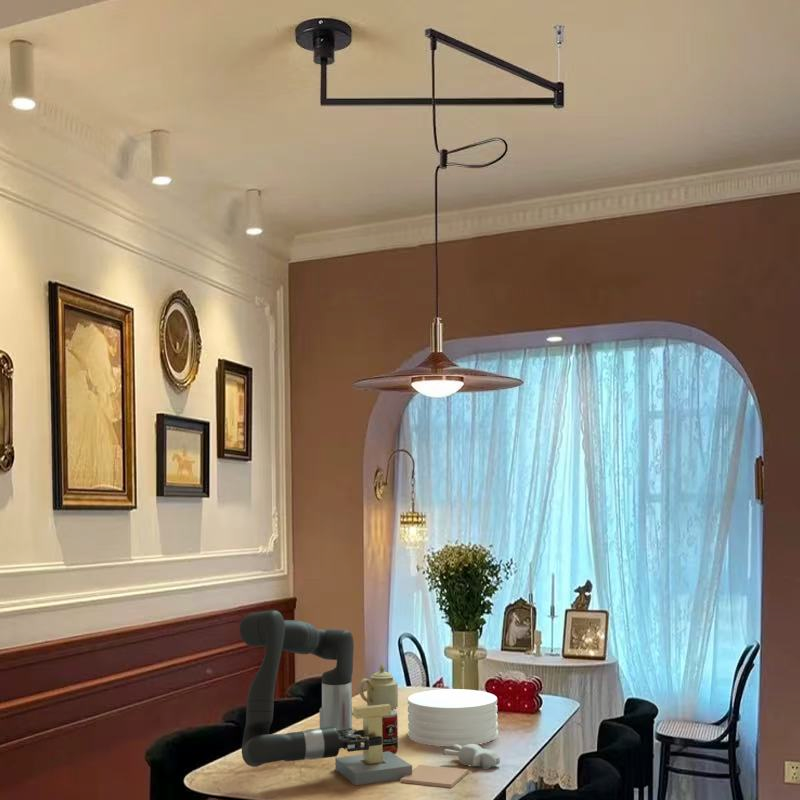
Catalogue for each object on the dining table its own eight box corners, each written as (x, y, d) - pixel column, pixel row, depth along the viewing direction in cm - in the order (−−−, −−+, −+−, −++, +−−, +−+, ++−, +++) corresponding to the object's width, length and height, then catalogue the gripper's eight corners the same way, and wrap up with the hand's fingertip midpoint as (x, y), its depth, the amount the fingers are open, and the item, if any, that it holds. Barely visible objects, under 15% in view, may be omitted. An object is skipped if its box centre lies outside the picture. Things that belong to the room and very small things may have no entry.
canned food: (379, 755, 266) (378, 716, 267) (367, 749, 273) (366, 711, 274) (402, 752, 270) (402, 713, 271) (390, 746, 277) (389, 708, 278)
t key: (358, 777, 245) (357, 709, 247) (353, 773, 249) (352, 706, 251) (393, 772, 249) (392, 706, 251) (387, 769, 253) (386, 703, 254)
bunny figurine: (489, 757, 248) (441, 743, 256) (487, 776, 248) (439, 762, 256) (505, 749, 256) (458, 736, 264) (503, 768, 256) (456, 754, 264)
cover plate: (355, 785, 238) (355, 773, 239) (335, 769, 253) (335, 758, 253) (412, 777, 245) (412, 765, 245) (389, 762, 259) (389, 751, 260)
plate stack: (466, 752, 269) (465, 711, 270) (390, 739, 286) (389, 700, 287) (514, 732, 291) (513, 695, 292) (441, 721, 308) (441, 685, 309)
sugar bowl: (386, 713, 319) (386, 669, 321) (357, 711, 323) (357, 667, 325) (402, 704, 333) (401, 662, 335) (374, 702, 337) (373, 660, 339)
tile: (400, 782, 240) (400, 779, 241) (419, 767, 253) (419, 764, 253) (451, 787, 235) (451, 784, 235) (468, 772, 248) (468, 769, 248)
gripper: (327, 734, 238) (385, 727, 244) (310, 723, 251) (366, 716, 257) (327, 765, 237) (385, 757, 243) (310, 751, 250) (366, 744, 256)
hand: (375, 736), depth 250 cm, fingers open, 8 cm apart
